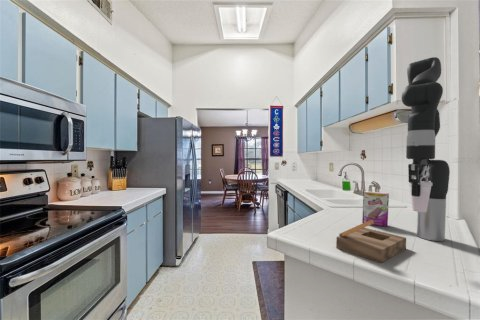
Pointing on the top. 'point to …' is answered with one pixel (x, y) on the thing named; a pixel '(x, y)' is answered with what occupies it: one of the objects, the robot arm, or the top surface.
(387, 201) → the candy bar box
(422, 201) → the smoothie
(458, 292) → the top surface
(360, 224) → the bar
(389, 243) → the socket block
